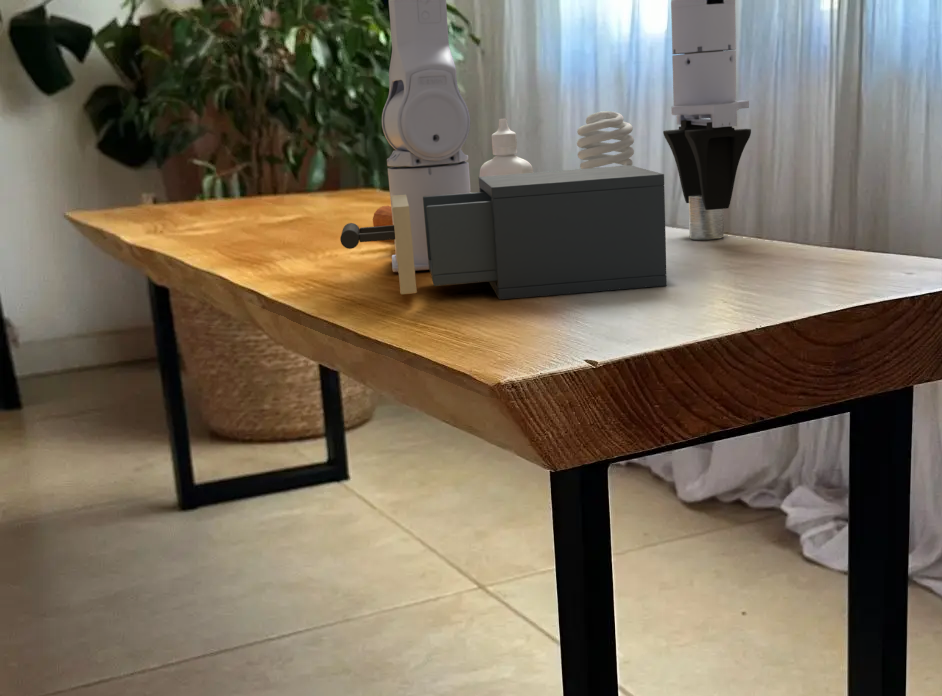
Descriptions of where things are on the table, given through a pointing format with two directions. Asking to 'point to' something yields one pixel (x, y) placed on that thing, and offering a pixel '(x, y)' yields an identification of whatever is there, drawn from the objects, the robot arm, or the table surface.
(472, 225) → the drawer
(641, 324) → the table surface
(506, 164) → the eye dropper bottle
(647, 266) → the cabinet
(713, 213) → the cylinder
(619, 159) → the light bulb
